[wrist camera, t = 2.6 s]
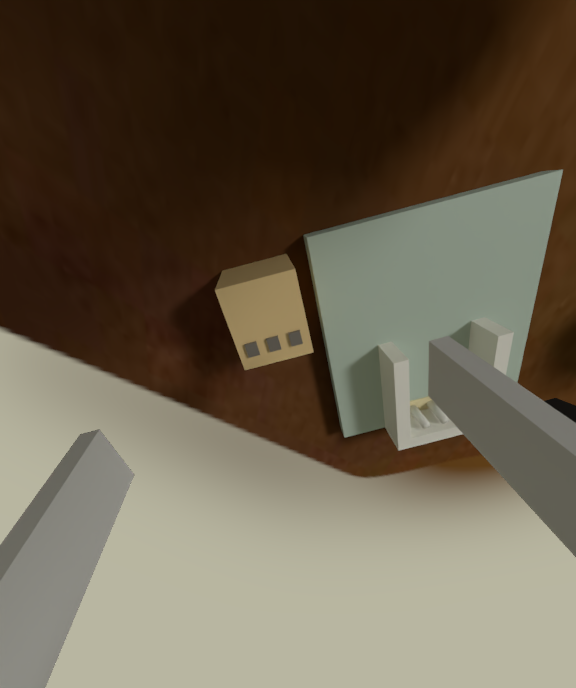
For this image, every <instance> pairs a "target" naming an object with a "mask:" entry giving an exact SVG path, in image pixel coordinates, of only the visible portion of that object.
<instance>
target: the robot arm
mask: <svg viewBox="0 0 576 688" xmlns="http://www.w3.org/2000/svg"><path fill="white" fill-rule="evenodd" d="M428 396H429V397H430V398H431V399H432V400H433V401H434V403H435V404H436V405H437V406H438V407H439V408H440V409H441V410H442V411H443V412H444V414H445V415H446V416H447V417H448V418H449V419H450V420H451V421H452V422H453V423H454V424H455V426H456V427H457V428H458V429H459V430H460V431H461V432H462V433H463V434H464V435H465V436H466V438H467V439H468V440H469V441H470V442H471V443H472V444H473V445H474V446H475V447H476V449H477V450H478V451H479V452H480V453H481V454H482V455H483V456H484V457H485V458H486V459H487V461H488V462H489V463H490V464H491V465H492V466H493V467H494V468H495V469H496V470H497V471H498V473H499V474H500V475H501V476H502V477H503V478H504V479H505V480H506V481H507V482H508V483H509V485H510V486H511V487H512V488H513V489H514V490H515V491H516V492H517V493H518V494H519V496H520V497H521V498H522V499H523V500H524V501H525V502H526V503H527V504H528V505H529V506H530V508H531V509H532V510H533V511H534V512H535V513H536V514H537V515H538V516H539V517H540V518H541V520H542V521H543V522H544V523H545V524H546V525H547V526H548V527H549V528H550V529H551V531H552V532H553V533H554V534H555V535H556V536H557V537H558V538H559V539H560V540H561V541H562V542H563V543H564V545H565V546H566V547H567V548H568V549H569V550H570V551H571V552H572V553H573V555H574V556H575V557H576V406H575V405H572V404H570V403H567V402H565V401H562V400H559V399H557V398H554V399H550V400H546V401H543V400H541V399H540V398H538V397H537V396H535V395H534V394H533V393H531V392H530V391H528V390H527V389H525V388H524V387H522V386H521V385H519V384H518V383H516V382H515V381H514V380H512V379H511V378H509V377H508V376H506V375H505V374H503V373H502V372H500V371H499V370H497V369H496V368H494V367H493V366H492V365H490V364H489V363H487V362H486V361H484V360H483V359H481V358H480V357H478V356H477V355H475V354H474V353H473V352H471V351H470V350H468V349H467V348H465V347H464V346H462V345H461V344H459V343H458V342H456V341H455V340H453V339H452V338H451V337H449V336H446V337H442V338H438V339H434V340H431V341H429V371H428ZM133 477H134V473H133V472H132V471H131V469H130V468H129V467H128V466H127V464H126V463H125V462H124V460H123V459H122V458H121V457H120V455H119V454H118V453H117V451H116V450H115V449H114V447H113V446H112V445H111V444H110V442H109V441H108V440H107V438H106V437H105V436H104V435H103V433H102V432H101V431H100V430H95V431H91V432H88V433H84V434H80V436H79V437H78V438H77V440H76V441H75V442H74V444H73V445H72V446H71V448H70V450H69V451H68V452H67V453H66V455H65V456H64V458H63V459H62V460H61V462H60V463H59V465H58V466H57V467H56V469H55V470H54V472H53V473H52V474H51V476H50V477H49V478H48V480H47V481H46V483H45V484H44V485H43V487H42V488H41V489H40V491H39V492H38V494H37V495H36V496H35V498H34V499H33V501H32V502H31V503H30V505H29V506H28V508H27V509H26V510H25V512H24V513H23V514H22V516H21V517H20V519H19V520H18V521H17V523H16V524H15V526H14V527H13V528H12V530H11V531H10V532H9V534H8V535H7V537H6V538H5V539H4V541H3V542H2V544H1V545H0V688H45V687H46V685H47V682H48V680H49V677H50V675H51V673H52V670H53V668H54V665H55V663H56V661H57V658H58V656H59V653H60V651H61V649H62V646H63V644H64V641H65V639H66V636H67V634H68V632H69V629H70V627H71V625H72V622H73V620H74V618H75V615H76V613H77V610H78V608H79V606H80V603H81V601H82V598H83V596H84V594H85V591H86V589H87V586H88V584H89V582H90V579H91V577H92V575H93V572H94V570H95V567H96V565H97V563H98V560H99V558H100V555H101V553H102V551H103V548H104V546H105V543H106V541H107V539H108V536H109V534H110V532H111V529H112V527H113V524H114V522H115V519H116V517H117V515H118V512H119V510H120V508H121V505H122V503H123V500H124V498H125V496H126V493H127V491H128V489H129V486H130V484H131V481H132V479H133Z"/></svg>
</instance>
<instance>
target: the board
mask: <svg viewBox="0 0 576 688" xmlns="http://www.w3.org/2000/svg"><path fill="white" fill-rule="evenodd" d="M562 172H563V170H552V171H542V172H538V173H534V174H531V175H527V176H523V177H519V178H516V179H512V180H508V181H504V182H500V183H497V184H493V185H489V186H485V187H482V188H478V189H474V190H470V191H467V192H463V193H459V194H455V195H452V196H448V197H444V198H440V199H437V200H433V201H429V202H425V203H421V204H418V205H414V206H410V207H406V208H403V209H399V210H395V211H391V212H388V213H384V214H380V215H376V216H373V217H369V218H365V219H361V220H357V221H354V222H350V223H346V224H342V225H339V226H335V227H331V228H327V229H324V230H320V231H316V232H312V233H309V234H305V235H303V237H304V242H305V247H306V252H307V257H308V262H309V268H310V273H311V278H312V283H313V288H314V293H315V298H316V304H317V309H318V314H319V319H320V324H321V329H322V335H323V340H324V345H325V350H326V355H327V360H328V366H329V371H330V376H331V381H332V386H333V391H334V397H335V402H336V407H337V412H338V417H339V422H340V427H341V430H342V433H343V435H344V438H345V437H349V436H353V435H357V434H361V433H365V432H369V431H372V430H376V429H380V428H384V427H385V428H386V430H387V432H388V433H389V435H390V437H391V439H392V440H393V442H394V444H395V446H396V447H397V449H398V451H399V450H403V449H407V448H411V447H415V446H419V445H422V444H426V443H430V442H434V441H438V440H442V439H446V438H450V437H453V436H457V435H461V434H463V433H462V432H461V431H460V430H459V429H458V428H457V427H456V426H455V424H454V423H453V422H452V421H451V420H450V419H449V418H448V417H447V416H446V415H445V414H444V412H443V411H442V410H441V409H440V408H439V407H438V406H437V405H436V404H435V403H434V401H433V400H432V399H431V398H430V397H429V396H428V371H429V341H431V340H434V339H438V338H442V337H446V336H449V337H451V338H452V339H453V340H455V341H456V342H458V343H459V344H461V345H462V346H464V347H465V348H467V349H468V350H470V351H471V352H473V353H474V354H475V355H477V356H478V357H480V358H481V359H483V360H484V361H486V362H487V363H489V364H490V365H492V366H493V367H494V368H496V369H497V370H499V371H500V372H502V373H503V374H505V375H506V376H508V377H509V378H511V379H512V380H514V381H515V382H516V383H517V381H518V377H519V372H520V367H521V363H522V358H523V354H524V349H525V344H526V340H527V335H528V330H529V326H530V321H531V316H532V312H533V307H534V302H535V298H536V293H537V288H538V284H539V279H540V274H541V270H542V265H543V261H544V256H545V251H546V247H547V242H548V237H549V233H550V228H551V223H552V219H553V214H554V209H555V205H556V200H557V195H558V191H559V186H560V181H561V177H562Z"/></svg>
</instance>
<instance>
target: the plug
mask: <svg viewBox="0 0 576 688" xmlns="http://www.w3.org/2000/svg"><path fill="white" fill-rule="evenodd" d="M215 292H216V295H217V298H218V300H219V303H220V306H221V308H222V311H223V314H224V316H225V319H226V322H227V324H228V327H229V330H230V332H231V335H232V338H233V340H234V343H235V346H236V348H237V351H238V354H239V356H240V359H241V361H242V364H243V367H244V369H245V370H248V369H252V368H256V367H259V366H263V365H267V364H271V363H275V362H279V361H282V360H286V359H290V358H294V357H298V356H301V355H305V354H309V353H313V347H312V342H311V338H310V333H309V329H308V324H307V320H306V315H305V311H304V306H303V302H302V297H301V293H300V288H299V283H298V279H297V274H296V270H295V267H294V266H293V264H292V262H291V261H290V259H289V257H288V256H287V254H283V255H280V256H276V257H272V258H268V259H265V260H261V261H257V262H253V263H250V264H246V265H242V266H238V267H235V268H231V269H227V270H223V271H222V273H221V275H220V278H219V280H218V283H217V285H216V288H215Z"/></svg>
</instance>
